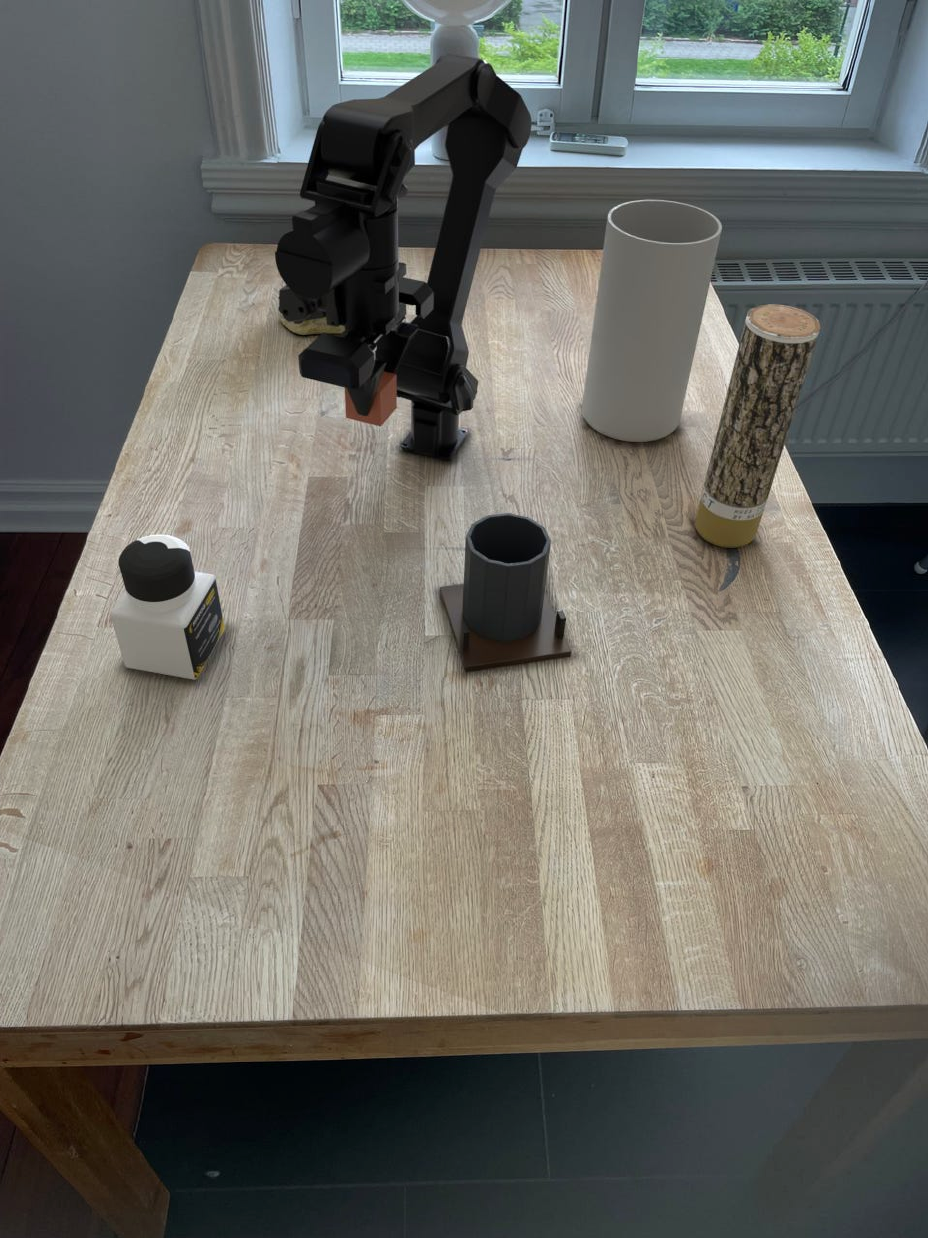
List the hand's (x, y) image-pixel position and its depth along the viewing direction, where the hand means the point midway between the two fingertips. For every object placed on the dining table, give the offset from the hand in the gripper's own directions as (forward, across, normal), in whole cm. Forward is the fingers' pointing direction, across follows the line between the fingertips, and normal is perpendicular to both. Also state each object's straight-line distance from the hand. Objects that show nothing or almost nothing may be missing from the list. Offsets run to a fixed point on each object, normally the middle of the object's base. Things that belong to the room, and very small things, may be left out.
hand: (372, 404), depth 101 cm
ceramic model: (+13, -38, -26) cm, 48 cm away
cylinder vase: (+13, -30, +22) cm, 39 cm away
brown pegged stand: (+13, +12, +20) cm, 26 cm away
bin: (+12, +12, +20) cm, 26 cm away
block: (+1, 0, 0) cm, 1 cm away
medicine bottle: (+13, +28, -7) cm, 32 cm away
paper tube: (+13, -11, +38) cm, 41 cm away
